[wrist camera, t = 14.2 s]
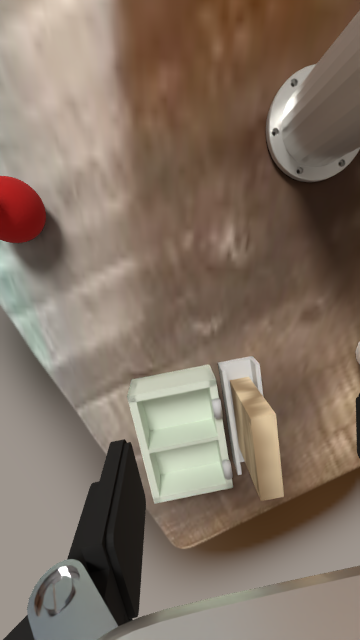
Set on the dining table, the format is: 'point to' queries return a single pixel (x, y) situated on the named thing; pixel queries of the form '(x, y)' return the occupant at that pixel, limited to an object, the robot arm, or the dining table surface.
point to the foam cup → (358, 353)
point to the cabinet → (188, 428)
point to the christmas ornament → (19, 211)
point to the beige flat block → (257, 438)
